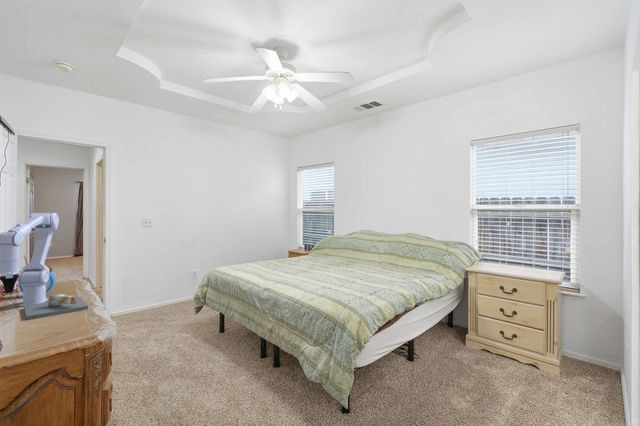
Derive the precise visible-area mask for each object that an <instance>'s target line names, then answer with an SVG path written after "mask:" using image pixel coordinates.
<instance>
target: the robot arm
mask: <svg viewBox="0 0 640 426" xmlns="http://www.w3.org/2000/svg"><path fill="white" fill-rule="evenodd" d="M59 223H60V217H59V215H58V213H56V212H52V213H51V212H32V213H31V214H29V216H28V219H27V220H26V221H25V222H24V223H17V224H16V225H15V226H13V227H11V228H10V229H9V230H8V231H6V232H5V231H4V232H0V275H1V276H0V281H1V282H2V285H3V289H4V293H5V294H12V293H13V292H14V289H15V285H16V282H18V285H19V284H21V286H23V292H22V303H21V304H19V305H18V307H24V305H30V304H37V303H43V302H48V301H49V298H47V296H46V295H47V293H46V286H45V285H44V284H45V283H46V282H47V281H48V280H49V271H50V269H49V268H48V267H47V266H48V265H45V262H46V260H47V259H46V258H47V256H48V252H49V249H50V245H51V242H52V238H53V235H54V232H56V231H57V230H58V226H59ZM32 229H33V230H34V231H36V232H38V237H37V239H36V243H35V246H34V249H33V253H32V254H31V256H32V259H31V258H30V259H31V260H30V262H29V263H28V265H27V264H26V265H24V266H23V267H22V268H21V269H20V245H22V244H23V242H24V240H25V238H26V237H28V236H29V235H30V234H31V232H32Z"/></svg>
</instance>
